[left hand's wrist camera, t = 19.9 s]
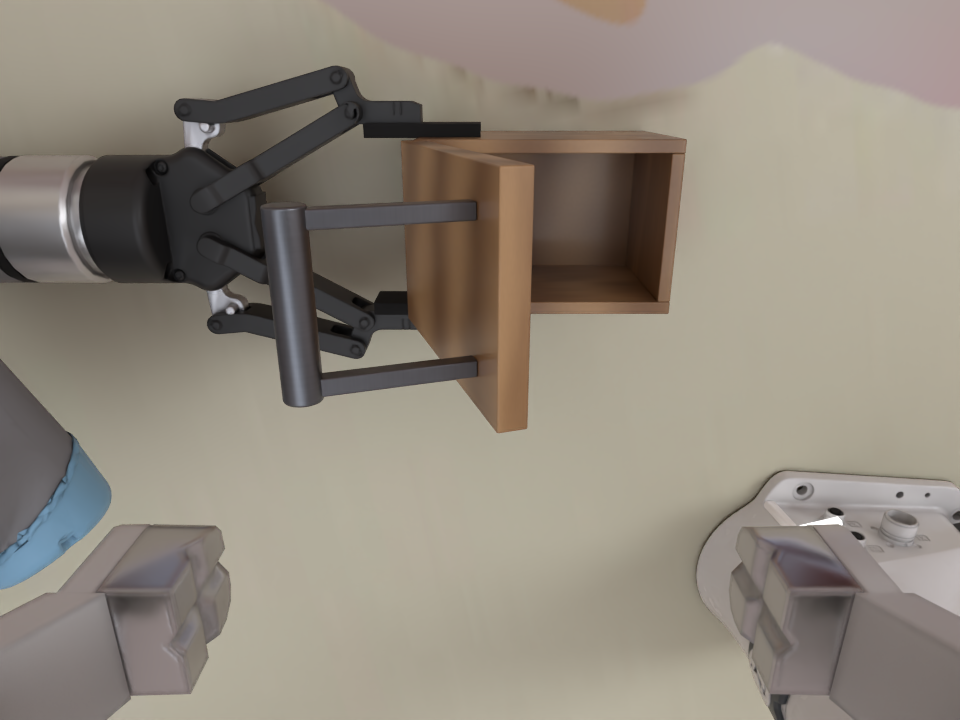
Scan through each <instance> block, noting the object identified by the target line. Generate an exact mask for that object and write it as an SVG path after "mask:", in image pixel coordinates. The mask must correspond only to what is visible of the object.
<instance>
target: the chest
mask: <svg viewBox="0 0 960 720" xmlns="http://www.w3.org/2000/svg"><path fill="white" fill-rule="evenodd" d="M415 140H425V141H429V142H434V143H438V144H443V145H447V146H452V147H456V148H461V149H465V150H470V151H474V152H479V153H483V154H488V155H492V156H497V157H501V158H506V159H510V160H515V161H519V162H524V163H528V164H533V165H534V202H533V238H532V274H531V310H530V314H668V312H669V301H670V293H671V283H672V274H673V265H674V255H675V246H676V236H677V227H678V217H679V208H680V199H681V189H682V180H683V170H684V161H685V154H684V153H685V152H686V143H687V140H686V139H682V138H677V137H672V136H667V135H662V134H657V133H652V132H646V131H481V137H418V138H416V139H415Z"/></svg>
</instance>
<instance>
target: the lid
mask: <svg viewBox="0 0 960 720" xmlns="http://www.w3.org/2000/svg"><path fill="white" fill-rule="evenodd" d="M401 153H402V177H403V201H404V202H398V203H377V204H356V205H335V206H314V207H306V205H305V204H304V203H300V202H274V203H267V204H264V205H262V206H261V207H260V211H261V220H262V228H263V237H264V245H265V253H266V262H267V270H268V279H269V287H270V296H271V304H272V312H273V321H274V329H275V338H276V346H277V354H278V363H279V371H280V380H281V388H282V397H283V402H284V403H285V404H286V405H288V406H291V407H308V406H312V405H315V404H318V403H320V402H321V401H322V400H323V398H324V397H326V396H333V395H341V394H349V393H356V392H364V391H372V390H379V389H387V388H395V387H402V386H410V385H418V384H425V383H433V382H441V381H449V380H457V382H458V383H459V384H460V386H461V387H462V388H463V389H464V391H465V392H466V393H467V395H468V396H469V397H470V399H471V400H472V401H473V402H474V404H475V405H476V406H477V408H478V409H479V410H480V411H481V413H482V414H483V415H484V417H485V418H486V419H487V421H488V422H489V423H490V424H491V426H492V427H493V428H494V430H495V431H496V432H497V433H503V432H509V431H516V430H522V429H527V418H528V382H529V346H530V310H531V274H532V238H533V202H534V165H533V164H528V163H524V162H519V161H515V160H510V159H506V158H501V157H497V156H492V155H488V154H483V153H479V152H474V151H470V150H465V149H461V148H456V147H452V146H447V145H443V144H438V143H434V142H429V141H425V140H404V141H401ZM393 225H405V249H406V273H407V297H408V318H409V319H410V321H411V322H412V323H413V325H414V326H415V327H416V328H417V330H418V331H419V332H420V334H421V335H422V336H423V338H424V339H425V340H426V341H427V343H428V344H429V345H430V347H431V348H432V349H433V351H434V352H435V353H436V354H437V356H438V357H439V358H440V359H436V360H428V361H420V362H411V363H403V364H395V365H386V366H378V367H369V368H361V369H353V370H344V371H336V372H328V373H322V367H321V356H320V346H319V335H318V324H317V314H316V303H315V292H314V282H313V271H312V260H311V250H310V239H309V230H324V229H341V228H359V227H376V226H393Z"/></svg>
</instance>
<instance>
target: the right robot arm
mask: <svg viewBox="0 0 960 720" xmlns="http://www.w3.org/2000/svg"><path fill="white" fill-rule="evenodd" d="M332 94H333V95H334V97H335V99H336V102H337V104H338V107H337V108H335V109H334V110H332V111H330V112H329V113H327V114H325V115H324V116H322V117H320V118H319V119H317V120H316V121H314V122H312V123H311V124H309V125H307V126H306V127H304V128H303V129H301V130H299V131H298V132H296V133H294V134H293V135H291V136H289V137H288V138H286V139H285V140H283V141H281V142H280V143H278V144H276V145H275V146H273V147H272V148H270V149H268V150H267V151H265V152H263V153H262V154H260V155H258V156H257V157H255V158H253V159H252V160H250V161H247V162H246V163H244V164H242V165H241V166H239V167H235V166H234V165H232V164H231V163H229V162H228V161H226V160H225V159H223V158H222V157H220V156H219V155H218V154H216V153H215V152H213V151H212V150H210V149H208V144H209V141H210V140H211V139H212V138H214V137H219V136H221V135H223V133H224V132H225V123H231V122H239V121H244V120H248V119H251V118H254V117H258V116H261V115H264V114H268V113H271V112H275V111H278V110H281V109H285V108H288V107H292V106H295V105H298V104H302V103H305V102H309V101H312V100H315V99H319V98H322V97H325V96H329V95H332ZM174 112H175V114H176V116H177V117H178V118H179V119H180V120H182V121H183V127H184V141H185V148H183V149H181V150H180V151H178V152H177V153H175V154H173V155H105V156H102V157H100V158H96V157H94V156H92V155H21V156H8V157H0V283H5V282H49V283H106V282H110V281H112V280H114V281H116V282H119V283H189V284H193V285H195V286H198V287H199V288H201V289H204V290H207V294H208V298H209V303H210V307H211V311H212V316H211V317H210V318H209V319H208V321H207V326H208V328H209V330H210V331H211V332H213V333H215V334H226V333H238V332H248V333H252V334H256V335H260V336H264V337H268V338H272V339H276V338H275V329H274V321H273V312H272V306H270V305H266V304H261V303H248V301H247V299H246V298H245V297H244V296H242V295H238V294H234V293H232V292H231V291H230V290H229V289H228V286H227V284H228V283H230V282H231V281H232V280H234V279H235V278H236V277H237V276H239V275H240V274H242V275H244V276H246V277H248V278H250V279H252V280H254V281H256V282H258V283H261V284H268V285H269V279H268V270H267V262H266V253H265V245H264V237H263V228H262V220H261V211H260V207H261V206H262V205H264V204H267V203H266V194H265V192H262V190H261V188H260V186H259V185H260V184H262V183H264V182H265V181H267V180H269V179H270V178H272V177H274V176H275V175H276V174H278V173H279V172H281V171H283V170H284V169H286V168H288V167H289V166H291V165H293V164H294V163H296V162H298V161H299V160H301V159H303V158H304V157H306V156H307V155H309V154H311V153H312V152H314V151H316V150H317V149H319V148H321V147H322V146H324V145H326V144H327V143H329V142H331V141H332V140H334V139H336V138H337V137H339V136H341V135H342V134H344V133H346V132H347V131H349V130H351V129H352V128H354V127H356V126H357V125H359V124H363V130H364V138H418V137H481V122H423V118H422V105H421V104H419V103H417V102H414V101H369V100H367V99H365V98H364V97H363V96H362V95H361V93H360V92H359V89H358V87H357V84H356V82H355V76H354V74H353V72H352V71H351V70H350V69H348V68H345V67H340V66H331V67H328V68H324V69H321V70H318V71H314V72H311V73H308V74H304V75H301V76H298V77H294V78H291V79H288V80H284V81H281V82H278V83H274V84H271V85H268V86H264V87H261V88H257V89H254V90H251V91H247V92H244V93H241V94H237V95H234V96H231V97H227V98H224V99H221V100H211V99H189V98H184V99H179V100H178V101H176V103H175V105H174ZM313 282H314V292H315V303H316V309H318V310H320V311H322V312H324V313H326V314H328V315H330V316H332V317H334V318H336V319H338V320H340V321H342V322H344V323H346V324H348V325H346V324H342V323H338V322H334V321H330V320H326V319H322V318H318V317H317V324H318V335H319V346H320V350H321V351H325V352H329V353H333V354H337V355H341V356H345V357H349V358H354V359H359V358H361V357H363V356H364V354H365V352H366V350H367V348H368V345H369V343H370V341H371V337H372V334H373V333H374V332H375V331H377V330H382V329H392V330H402V329H404V330H409V329H410V330H417V328H416V327H415V326H414V325H413V323H412V322H411V321H410V319H409V318H408V297H407V291H380V292H379V294H378V296H377V298H376V300H375V302H374V303H373V302H371V301H369V300H367V299H365V298H363V297H361V296H359V295H357V294H355V293H353V292H351V291H349V290H347V289H345V288H343V287H341V286H339V285H338V284H336V283H334V282H332V281H330V280H328V279H326V278H324V277H322V276H320V275H318V274H316V273H314V272H313ZM111 496H112V495H111V489H110V486H109V484H108V483H107V481H106V480H105V479H104V477H103V476H102V475H101V473H100V472H99V471H98V469H97V468H96V466H95V465H94V464H93V462H92V461H91V460H90V458H89V457H88V456H87V454H86V453H85V452H84V450H83V449H82V448H81V446H80V445H79V443H78V441H77V439H76V438H75V437H74V436H73V435H72V434H71V433H69V432H67V431H65V430H64V429H63V427H62V426H61V425H60V424H59V423H58V422H57V421H56V420H55V419H54V418H53V416H52V415H51V414H50V413H49V412H48V411H47V410H46V409H45V408H44V407H43V405H42V404H41V403H40V402H39V401H38V400H37V399H36V398H35V397H34V396H33V394H32V393H31V392H30V391H29V390H28V389H27V388H26V387H25V386H24V385H23V383H22V382H21V381H20V380H19V379H18V378H17V377H16V376H15V375H14V374H13V372H12V371H11V370H10V369H9V368H8V367H7V366H6V365H5V364H4V363H3V361H2V360H1V359H0V589H6V588H9V587H12V586H14V585H16V584H19V583H21V582H23V581H24V580H26V579H28V578H30V577H31V576H33V575H35V574H36V573H38V572H39V571H41V570H42V569H44V568H45V567H47V566H48V565H49V564H51V563H52V562H54V561H55V560H56V559H58V558H59V557H60V556H62V555H63V554H64V553H65V552H66V550H67V549H69V548H70V547H71V546H72V545H73V544H75V543H76V542H77V541H79V540H81V539H82V538H83V537H84V536H85V535H87V534H88V533H89V532H90V531H91V530H92V529H93V528H94V527H95V526H96V525H97V523H98V522H99V521H100V520H101V519H102V517H103V516H104V515H105V513H106V511H107V510H108V508H109V505H110V503H111Z"/></svg>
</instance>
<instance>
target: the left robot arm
mask: <svg viewBox="0 0 960 720" xmlns="http://www.w3.org/2000/svg"><path fill="white" fill-rule="evenodd" d="M799 486H803V487H802V488H801V489H799V490H797V488H798V487H799ZM954 513H955V514H954ZM953 514H954V515H953ZM224 549H225V547H224V542H223V537H222V532H221V530H220V529H219V528H218V527H216V526H205V525H158V524H154V525H150V524H122V525H119V526H116V527H113V529H112V530H111V531H110V532H109V533H108V534H107V535H106V536H105V538H104V539H103V540H102V541H101V542H100V543H99V545H98V546H97V547H96V548H95V549H94V550H93V551H92V553H91V554H90V555H89V556H88V557H87V558H86V560H85V561H84V562H83V563H82V564H81V565H80V566H79V568H78V569H77V570H76V571H75V572H74V573H73V575H72V576H71V577H70V578H69V579H68V580H67V581H66V583H65V584H64V585H63V586H62V587H61V588H60V590H59V591H58V592H57V593H45V594H43V595H41V596H39V597H37V598H35V599H33V600H31V601H29V602H27V603H25V604H23V605H22V606H20V607H18V608H16V609H14V610H12V611H10V612H8V613H6V614H4V615H2V616H0V720H107V719H108V718H109V717H110V716H111V715H113V714H114V713H115V712H116V711H117V710H118V709H120V708H121V707H122V706H123V705H124V704H125V703H127V702H128V701H129V700H130V699H131V696H136V695H170V694H191V692H192V690H193V688H194V686H195V684H196V682H197V680H198V678H199V676H200V674H201V672H202V670H203V668H204V666H205V664H206V662H207V660H208V658H209V657H208V651H207V646H206V644H207V643H209V642H210V641H212V640H213V639H214V638H216V637H217V636H218V635H220V633H221V631H222V629H223V627H224V624H225V622H226V620H227V616H228V611H229V606H230V602H231V583H230V576H229V572H228V571H227V570H226V569H225V568H224V567H223V566H222V565H221V564H220V563H219V562H218V560H219V558H220V557H221V555H222V553H223V551H224ZM696 580H697V587H698V591H699V594H700V596H701V598H702V600H703V602H704V604H705V605H706V607H707V608H708V609H709V610H710V612H711V613H713V614H714V615H715V616H716V617H717V618H718V619H719V620H720V621H721V622H722V623H723V625H724V626H725V627H726V628H727V629H728V631H729V632H730V633H731V634H732V636H733V637H734V638H735V640H736V641H737V643H738V644H739V646H740V647H741V649H742V650H743V652H744V653H745V655H746V656H747V658H748V659H749V663H750V668H751V672H752V675H753V677H754V680H755V683H756V685H757V687H758V690H759V692H760V694H761V696H762V698H763V701H764V702H765V704H766V706H768V707H769V709H770V712H771V714H772V716H773V717H774V719H775V720H960V490H959V489H958V487H957V486H956V485H955V484H954V483H952V482H948V481H941V480H926V479H910V478H894V477H878V476H862V475H846V474H830V473H815V472H799V471H782V472H779V473H777V474H776V475H774V476H773V477H772V478H771V479H770V480H769V481H768V482H767V483H766V484H765V486H764V487H763V488H762V490H761V491H760V492H759V494H758V495H757V496H756V498H755V499H754V500H753V501H751V502H750V503H749V504H748V505H746V506H745V507H743V508H742V509H740V510H739V511H737V512H736V513H734V514H733V515H731V516H730V517H729V518H727V519H726V520H725V521H724V522H723V523H722V524H721V525H720V526H719V527H718V528H717V529H716V530H715V531H714V532H713V533H712V535H711V536H710V537H709V539H708V540H707V542H706V544H705V545H704V547H703V549H702V551H701V554H700V557H699V560H698V564H697V571H696Z"/></svg>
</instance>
